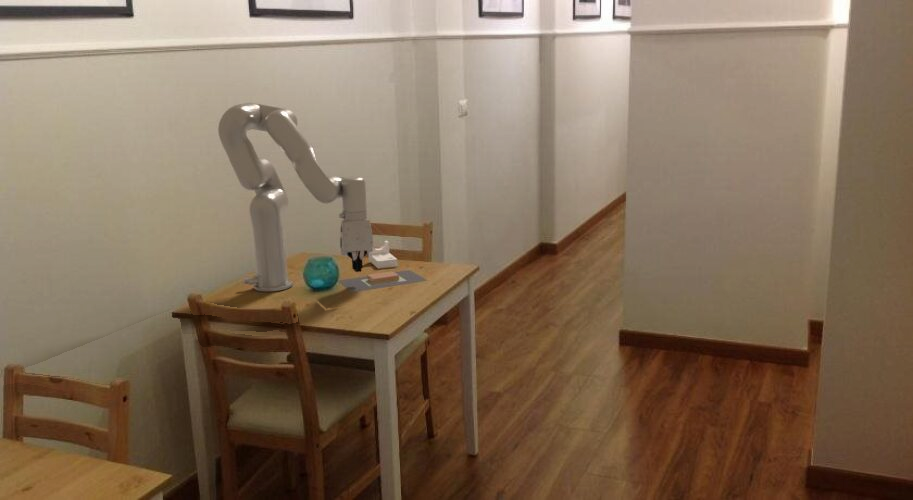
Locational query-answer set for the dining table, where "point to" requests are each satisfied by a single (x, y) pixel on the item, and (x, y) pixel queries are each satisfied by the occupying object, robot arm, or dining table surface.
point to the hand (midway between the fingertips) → (357, 270)
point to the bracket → (382, 257)
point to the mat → (365, 284)
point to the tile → (383, 277)
